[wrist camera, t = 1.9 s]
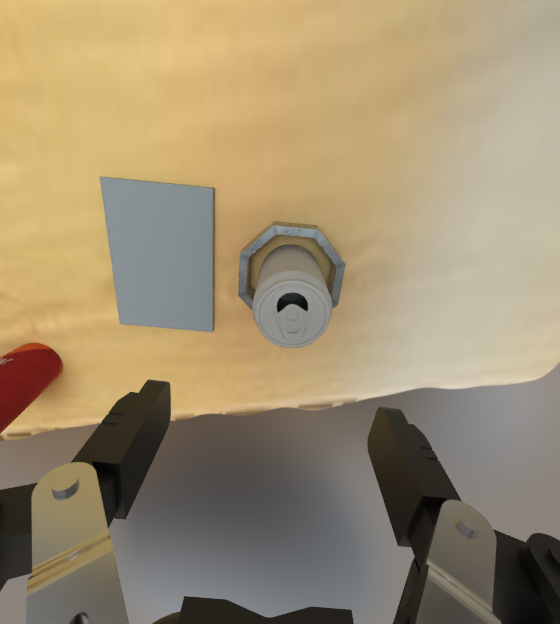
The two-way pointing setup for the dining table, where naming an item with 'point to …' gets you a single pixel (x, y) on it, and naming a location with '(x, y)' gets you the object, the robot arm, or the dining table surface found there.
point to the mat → (161, 252)
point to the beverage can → (291, 298)
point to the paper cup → (25, 378)
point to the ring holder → (292, 230)
